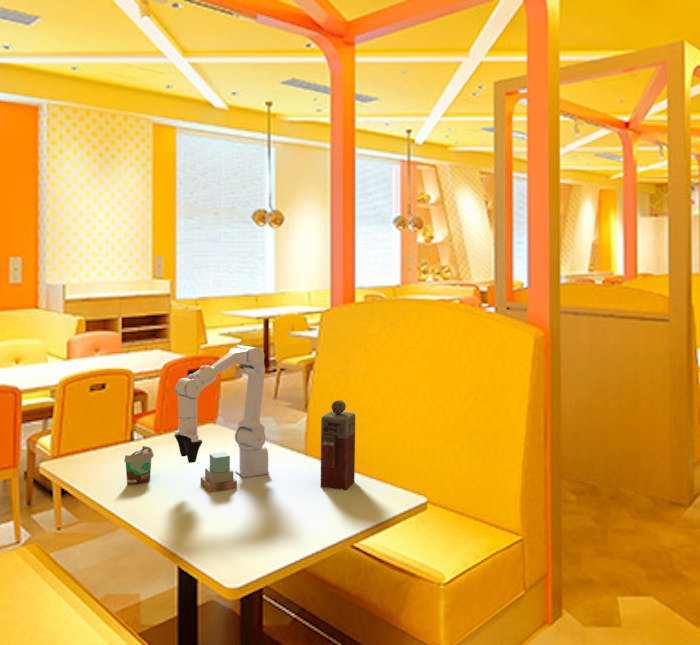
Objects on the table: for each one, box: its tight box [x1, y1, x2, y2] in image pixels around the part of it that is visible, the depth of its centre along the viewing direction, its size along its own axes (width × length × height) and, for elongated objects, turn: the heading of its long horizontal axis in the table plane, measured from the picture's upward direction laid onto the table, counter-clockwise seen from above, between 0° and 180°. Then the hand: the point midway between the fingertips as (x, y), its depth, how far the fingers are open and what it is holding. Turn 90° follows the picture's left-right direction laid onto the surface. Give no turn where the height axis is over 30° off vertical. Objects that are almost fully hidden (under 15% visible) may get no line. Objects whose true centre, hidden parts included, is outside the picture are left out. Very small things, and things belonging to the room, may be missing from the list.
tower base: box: [200, 476, 238, 494], centre depth 219 cm, size 9×9×3 cm
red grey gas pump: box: [320, 399, 356, 491], centre depth 220 cm, size 9×11×28 cm
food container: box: [123, 445, 155, 486], centre depth 223 cm, size 12×6×10 cm, turn 168°
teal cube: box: [209, 451, 231, 473], centre depth 218 cm, size 5×5×5 cm
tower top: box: [204, 467, 234, 484], centre depth 219 cm, size 7×7×3 cm
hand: (188, 459), depth 213 cm, fingers open, 7 cm apart
